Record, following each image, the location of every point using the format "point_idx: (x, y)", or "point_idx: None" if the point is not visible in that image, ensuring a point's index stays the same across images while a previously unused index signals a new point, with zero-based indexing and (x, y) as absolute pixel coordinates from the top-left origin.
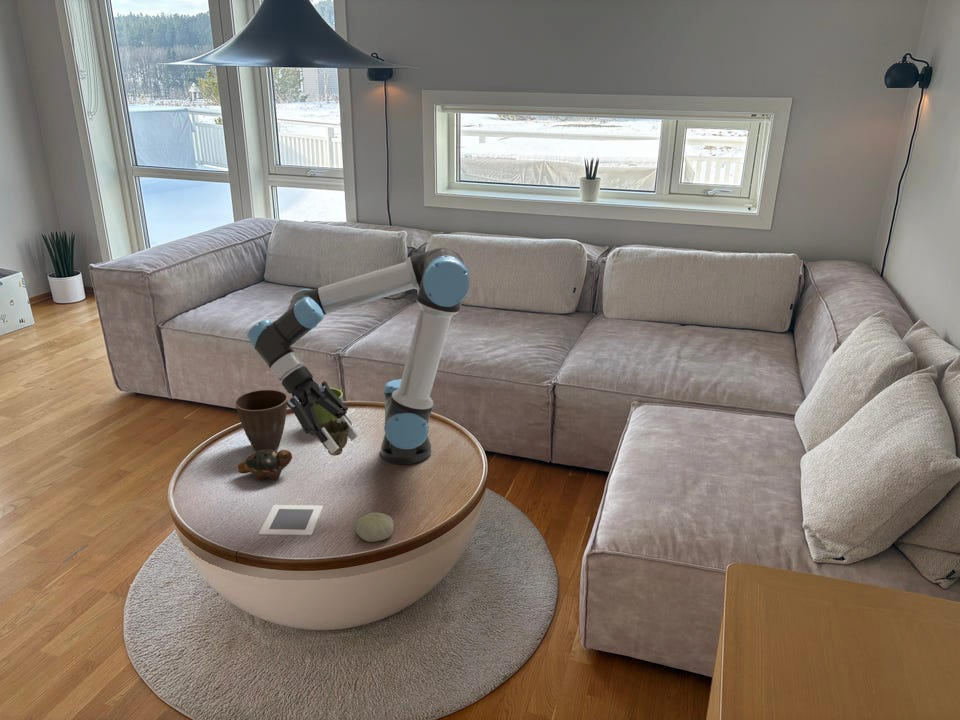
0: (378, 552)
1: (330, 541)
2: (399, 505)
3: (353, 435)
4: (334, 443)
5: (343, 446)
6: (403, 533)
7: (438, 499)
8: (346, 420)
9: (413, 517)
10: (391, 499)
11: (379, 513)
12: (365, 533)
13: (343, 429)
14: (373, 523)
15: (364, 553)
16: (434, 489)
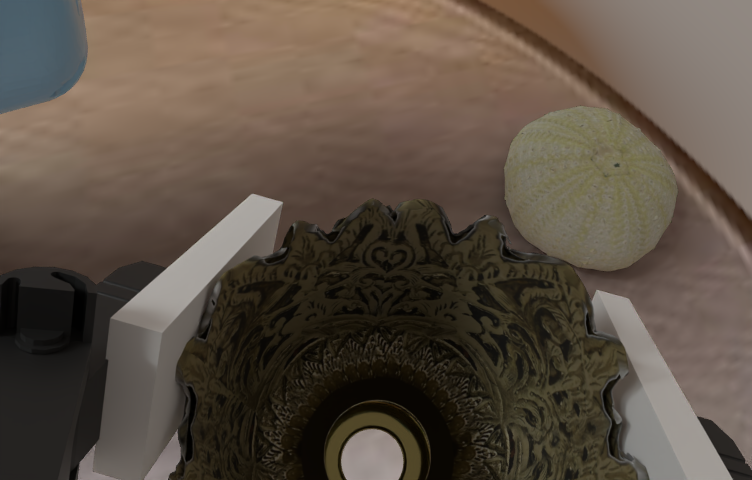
0: (686, 154)
1: (705, 370)
2: (337, 164)
3: (267, 249)
4: (632, 326)
5: (422, 328)
6: (537, 99)
7: (254, 27)
8: (183, 283)
9: (416, 89)
10: (292, 211)
11: (568, 150)
12: (676, 195)
13: (232, 364)
14: (646, 156)
15: (715, 201)
16: (170, 56)
